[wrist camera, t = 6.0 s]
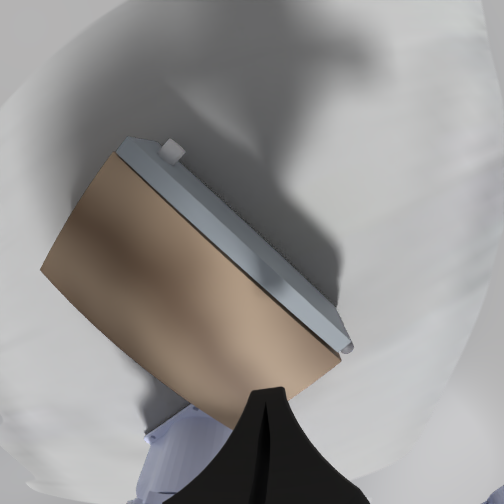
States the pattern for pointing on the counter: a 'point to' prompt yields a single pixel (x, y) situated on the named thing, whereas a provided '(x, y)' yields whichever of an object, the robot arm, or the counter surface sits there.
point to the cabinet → (178, 299)
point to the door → (234, 236)
